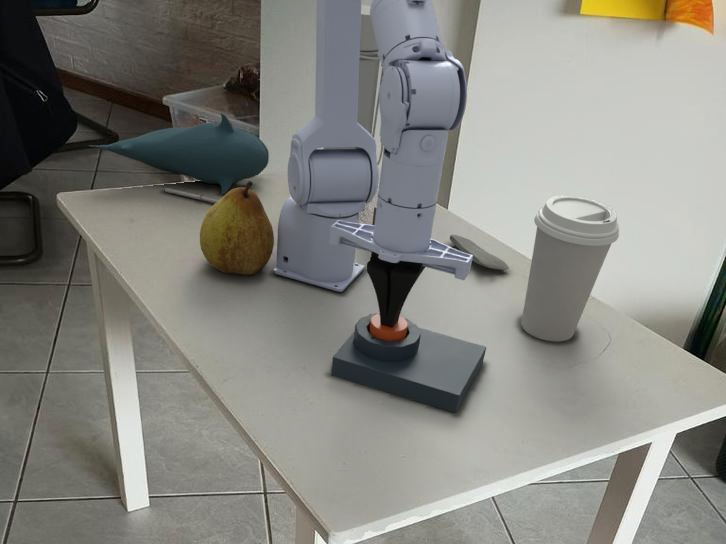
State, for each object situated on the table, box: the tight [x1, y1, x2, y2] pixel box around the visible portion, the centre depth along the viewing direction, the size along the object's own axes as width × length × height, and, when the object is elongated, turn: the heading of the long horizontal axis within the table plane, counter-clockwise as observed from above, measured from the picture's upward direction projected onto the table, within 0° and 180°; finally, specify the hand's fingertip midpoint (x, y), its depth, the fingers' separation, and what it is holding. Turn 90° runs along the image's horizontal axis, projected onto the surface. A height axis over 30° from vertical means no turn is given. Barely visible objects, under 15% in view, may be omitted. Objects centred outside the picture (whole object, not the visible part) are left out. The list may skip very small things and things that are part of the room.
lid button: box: [369, 312, 408, 341], centre depth 88 cm, size 4×4×2 cm
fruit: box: [199, 180, 275, 276], centre depth 100 cm, size 9×9×12 cm
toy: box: [87, 113, 270, 195], centre depth 123 cm, size 11×26×15 cm
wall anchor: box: [164, 187, 222, 204], centre depth 119 cm, size 1×9×1 cm, turn 71°
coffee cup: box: [521, 194, 620, 343], centre depth 96 cm, size 10×10×15 cm
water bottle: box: [323, 4, 384, 166], centre depth 120 cm, size 9×8×25 cm
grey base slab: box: [330, 313, 487, 414], centre depth 89 cm, size 14×11×4 cm
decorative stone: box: [449, 234, 510, 271], centre depth 113 cm, size 11×1×5 cm
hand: (389, 322), depth 88 cm, fingers closed, pressing on lid button
